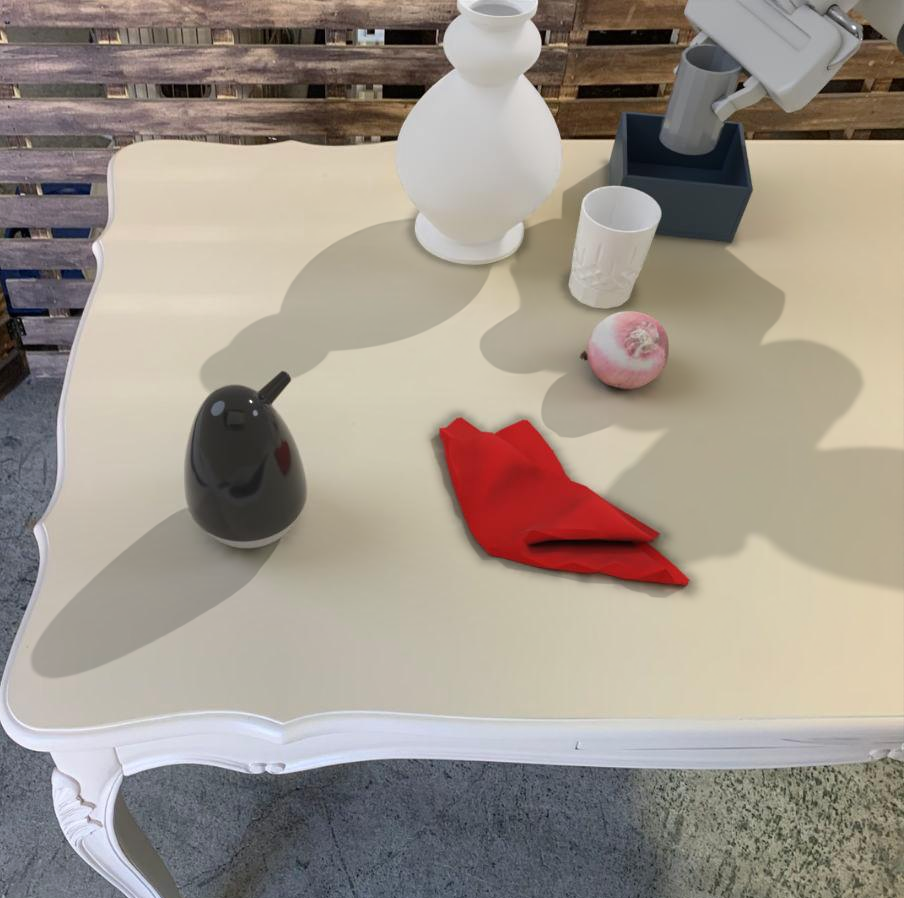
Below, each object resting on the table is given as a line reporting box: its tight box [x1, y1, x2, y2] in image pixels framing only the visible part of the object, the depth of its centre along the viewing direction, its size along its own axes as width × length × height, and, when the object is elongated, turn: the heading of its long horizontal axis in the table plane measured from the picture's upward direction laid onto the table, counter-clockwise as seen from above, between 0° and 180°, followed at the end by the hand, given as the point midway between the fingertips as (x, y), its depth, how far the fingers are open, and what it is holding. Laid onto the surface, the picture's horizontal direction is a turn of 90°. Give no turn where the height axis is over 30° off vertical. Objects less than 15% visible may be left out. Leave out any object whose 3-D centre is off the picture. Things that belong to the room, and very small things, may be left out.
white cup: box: [567, 185, 661, 310], centre depth 94 cm, size 8×8×10 cm
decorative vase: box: [394, 0, 563, 265], centre depth 94 cm, size 18×18×25 cm
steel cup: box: [659, 44, 744, 155], centre depth 98 cm, size 6×6×9 cm
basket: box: [608, 110, 754, 244], centre depth 105 cm, size 14×14×7 cm
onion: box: [579, 310, 670, 391], centre depth 87 cm, size 8×8×7 cm
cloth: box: [438, 417, 690, 586], centre depth 79 cm, size 26×14×2 cm, turn 36°
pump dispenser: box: [183, 370, 308, 549], centre depth 73 cm, size 10×10×15 cm
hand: (696, 96), depth 98 cm, fingers closed on steel cup, 6 cm apart
